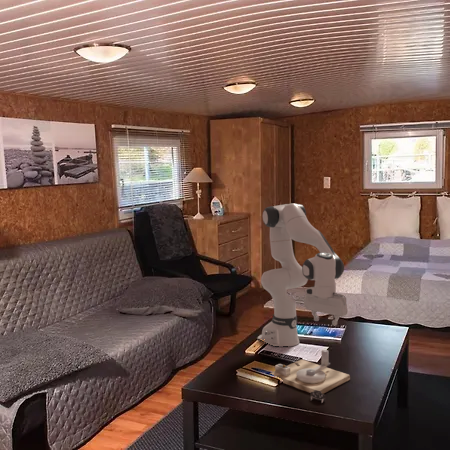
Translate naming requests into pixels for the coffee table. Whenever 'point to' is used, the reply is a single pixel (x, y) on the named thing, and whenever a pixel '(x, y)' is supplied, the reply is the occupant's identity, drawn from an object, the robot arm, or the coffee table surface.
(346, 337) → the coffee table surface
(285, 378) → the stand board
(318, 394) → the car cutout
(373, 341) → the coffee table surface
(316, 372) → the dial
